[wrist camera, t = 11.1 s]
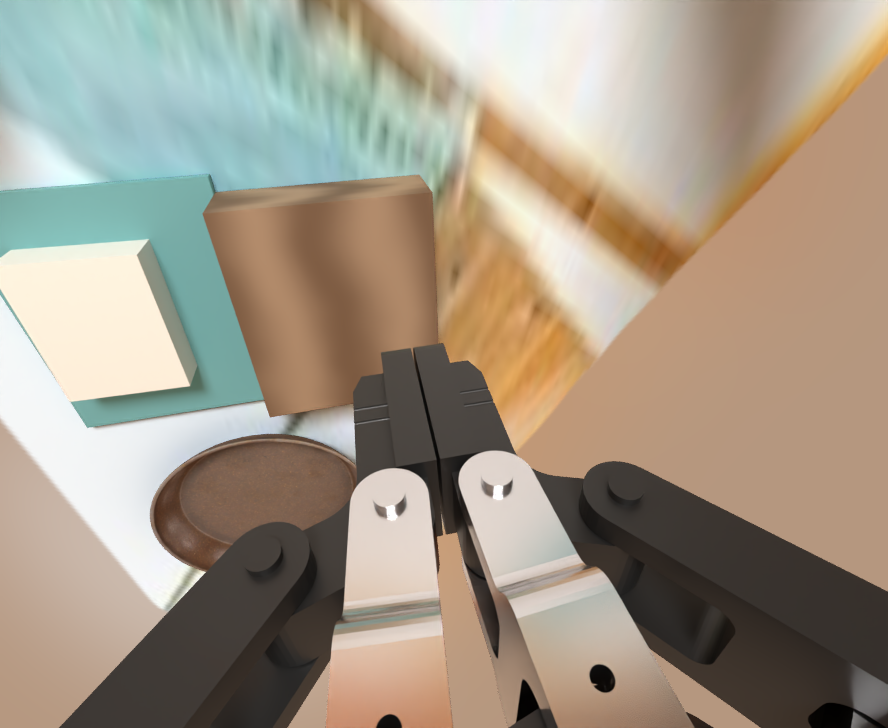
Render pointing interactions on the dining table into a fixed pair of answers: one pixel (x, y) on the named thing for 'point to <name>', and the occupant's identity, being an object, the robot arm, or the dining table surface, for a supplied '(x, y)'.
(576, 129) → the dining table surface
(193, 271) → the mat
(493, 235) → the dining table surface
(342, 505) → the plant saucer
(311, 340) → the bronze rectangular block
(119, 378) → the white block
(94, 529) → the dining table surface
